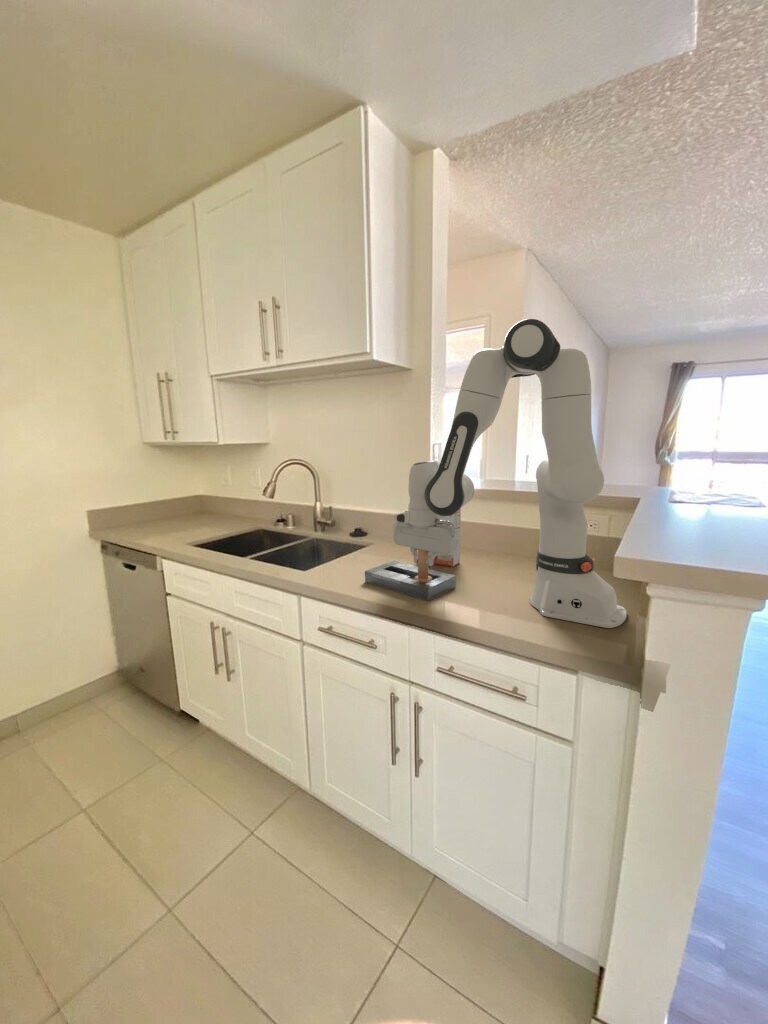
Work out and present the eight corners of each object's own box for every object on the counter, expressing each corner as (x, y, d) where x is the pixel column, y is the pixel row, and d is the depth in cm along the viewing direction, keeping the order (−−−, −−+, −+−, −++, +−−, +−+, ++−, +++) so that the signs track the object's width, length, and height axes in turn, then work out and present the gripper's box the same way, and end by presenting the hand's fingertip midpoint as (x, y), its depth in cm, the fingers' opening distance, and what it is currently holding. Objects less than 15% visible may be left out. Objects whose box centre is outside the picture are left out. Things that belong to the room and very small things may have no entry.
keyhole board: (455, 587, 123) (455, 575, 123) (428, 601, 113) (428, 588, 112) (394, 571, 139) (394, 560, 138) (365, 582, 129) (364, 571, 128)
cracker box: (417, 561, 149) (417, 504, 146) (425, 557, 154) (425, 501, 150) (452, 567, 141) (453, 507, 138) (460, 563, 146) (461, 504, 143)
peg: (435, 580, 122) (435, 544, 120) (425, 585, 118) (425, 547, 116) (421, 576, 125) (421, 541, 123) (411, 581, 122) (411, 544, 120)
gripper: (461, 520, 114) (460, 568, 116) (403, 512, 127) (403, 555, 130) (448, 523, 109) (447, 573, 112) (390, 515, 123) (390, 559, 125)
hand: (423, 563), depth 121 cm, fingers closed on peg, 3 cm apart
